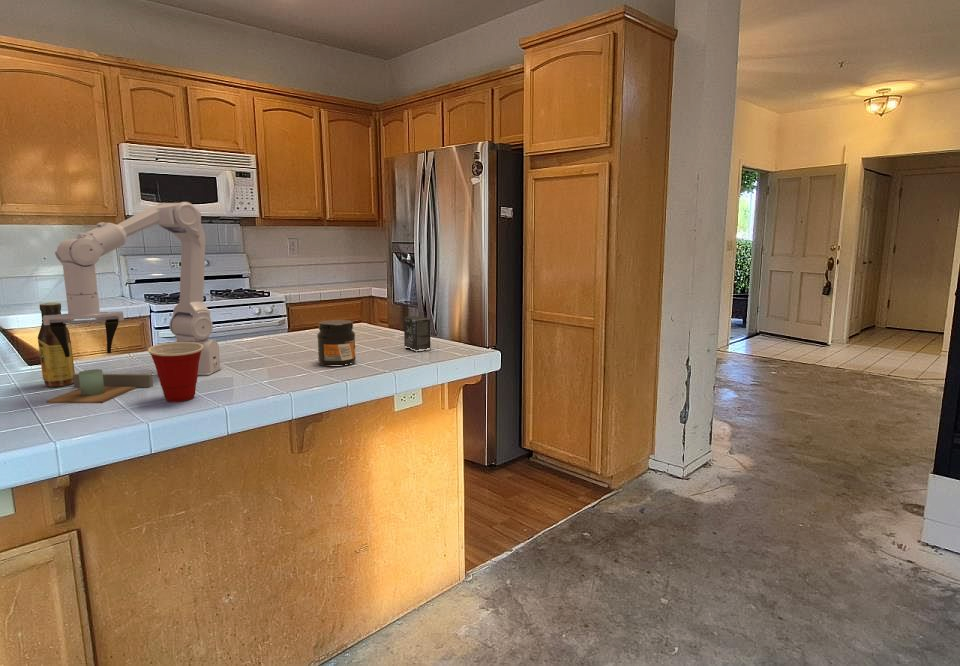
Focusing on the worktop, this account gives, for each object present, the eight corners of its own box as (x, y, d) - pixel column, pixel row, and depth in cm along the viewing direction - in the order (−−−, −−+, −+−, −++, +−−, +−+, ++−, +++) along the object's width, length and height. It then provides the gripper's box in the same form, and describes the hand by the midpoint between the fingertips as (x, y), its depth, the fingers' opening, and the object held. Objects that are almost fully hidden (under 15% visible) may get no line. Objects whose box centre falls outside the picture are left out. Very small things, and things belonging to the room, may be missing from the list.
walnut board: (135, 388, 133) (135, 386, 133) (102, 402, 121) (102, 401, 121) (84, 388, 133) (84, 386, 133) (46, 402, 121) (46, 400, 121)
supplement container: (351, 367, 156) (349, 325, 155) (313, 367, 157) (311, 324, 155) (359, 359, 167) (358, 319, 165) (324, 359, 167) (323, 319, 165)
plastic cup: (157, 409, 117) (152, 352, 115) (148, 397, 126) (143, 345, 124) (213, 399, 124) (209, 346, 122) (200, 389, 132) (196, 339, 131)
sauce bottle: (48, 382, 138) (39, 302, 134) (79, 380, 140) (70, 301, 137) (39, 389, 132) (29, 305, 128) (71, 387, 134) (62, 304, 131)
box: (403, 348, 184) (403, 316, 183) (419, 346, 188) (418, 315, 186) (415, 352, 178) (415, 319, 176) (431, 350, 181) (430, 318, 179)
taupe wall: (153, 386, 135) (152, 374, 135) (150, 387, 134) (149, 375, 134) (77, 385, 135) (76, 373, 135) (74, 387, 134) (72, 374, 133)
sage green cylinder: (106, 389, 130) (104, 368, 129) (102, 394, 126) (99, 373, 125) (84, 391, 128) (81, 370, 127) (78, 396, 124) (76, 374, 123)
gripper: (121, 291, 131) (126, 348, 133) (42, 293, 123) (50, 354, 125) (121, 293, 125) (127, 353, 127) (39, 296, 117) (46, 360, 119)
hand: (88, 354), depth 126 cm, fingers open, 7 cm apart
